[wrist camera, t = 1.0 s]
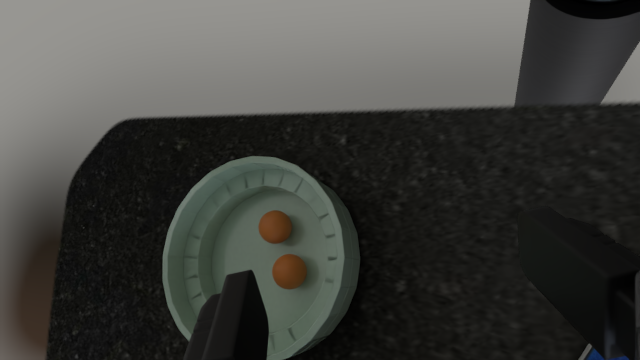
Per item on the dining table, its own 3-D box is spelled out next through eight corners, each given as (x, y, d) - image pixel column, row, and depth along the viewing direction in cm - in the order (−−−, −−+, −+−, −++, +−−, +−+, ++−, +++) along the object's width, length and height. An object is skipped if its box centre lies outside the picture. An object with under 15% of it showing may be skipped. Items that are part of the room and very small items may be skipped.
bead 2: (305, 249, 37) (291, 247, 35) (316, 281, 36) (302, 281, 34) (277, 262, 38) (261, 260, 35) (287, 294, 37) (271, 295, 34)
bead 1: (291, 207, 39) (276, 202, 36) (301, 237, 38) (287, 234, 35) (264, 220, 40) (248, 216, 37) (273, 250, 39) (257, 247, 36)
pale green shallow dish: (322, 140, 40) (301, 122, 35) (392, 318, 34) (378, 324, 29) (181, 213, 44) (146, 205, 40) (221, 382, 38) (185, 396, 34)
